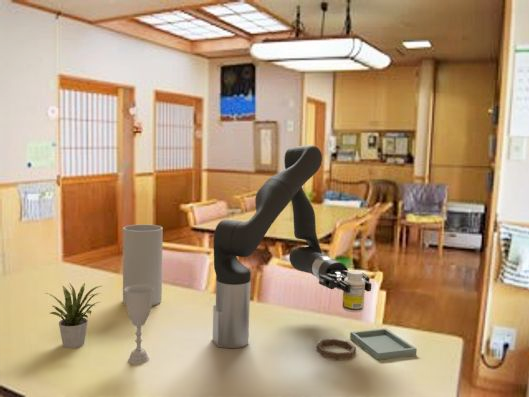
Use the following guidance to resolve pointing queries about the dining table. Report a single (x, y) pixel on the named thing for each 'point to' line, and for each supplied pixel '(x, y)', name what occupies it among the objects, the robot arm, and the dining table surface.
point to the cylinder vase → (143, 258)
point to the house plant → (73, 317)
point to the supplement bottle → (354, 292)
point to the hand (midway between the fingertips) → (359, 288)
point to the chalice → (138, 316)
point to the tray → (383, 344)
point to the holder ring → (332, 354)
